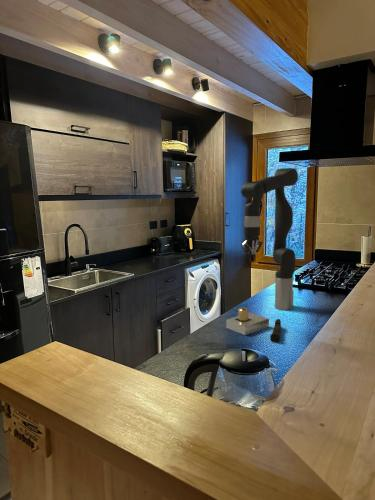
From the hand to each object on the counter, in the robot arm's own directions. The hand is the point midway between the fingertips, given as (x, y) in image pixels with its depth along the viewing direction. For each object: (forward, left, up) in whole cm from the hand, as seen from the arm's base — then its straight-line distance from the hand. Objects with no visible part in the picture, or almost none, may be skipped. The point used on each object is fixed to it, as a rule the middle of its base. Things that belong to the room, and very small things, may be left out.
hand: (251, 261), depth 167 cm
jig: (+7, +4, -30) cm, 31 cm away
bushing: (+9, +3, -30) cm, 31 cm away
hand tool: (+3, +18, -30) cm, 35 cm away
